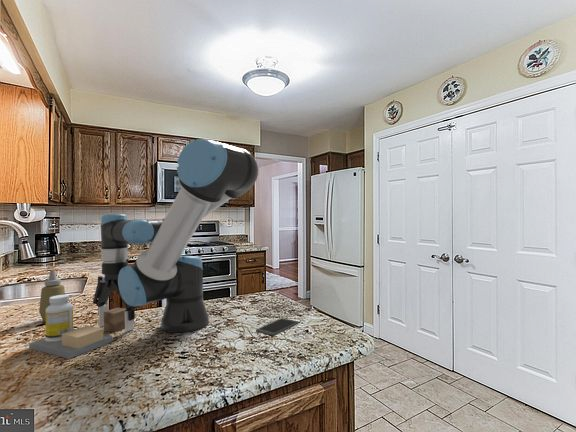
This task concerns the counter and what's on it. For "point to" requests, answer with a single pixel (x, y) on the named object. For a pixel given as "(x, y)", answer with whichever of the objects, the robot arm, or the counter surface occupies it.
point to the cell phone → (277, 326)
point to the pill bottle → (58, 317)
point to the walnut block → (114, 319)
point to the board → (65, 349)
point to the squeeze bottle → (50, 292)
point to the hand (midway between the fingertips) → (116, 327)
